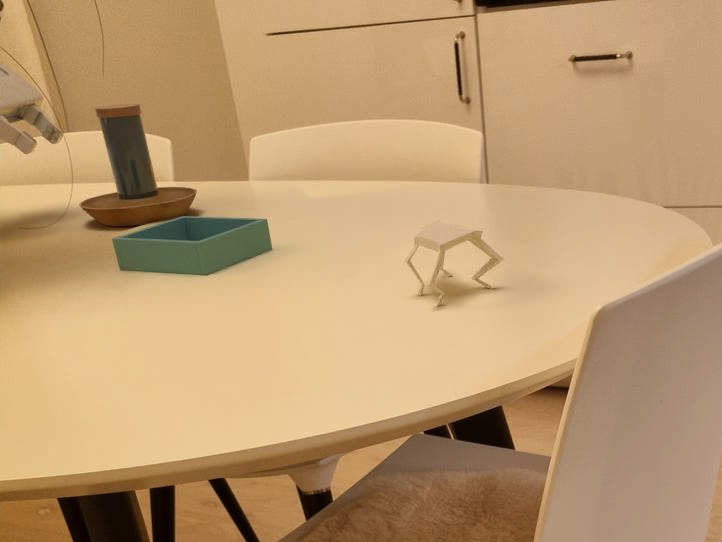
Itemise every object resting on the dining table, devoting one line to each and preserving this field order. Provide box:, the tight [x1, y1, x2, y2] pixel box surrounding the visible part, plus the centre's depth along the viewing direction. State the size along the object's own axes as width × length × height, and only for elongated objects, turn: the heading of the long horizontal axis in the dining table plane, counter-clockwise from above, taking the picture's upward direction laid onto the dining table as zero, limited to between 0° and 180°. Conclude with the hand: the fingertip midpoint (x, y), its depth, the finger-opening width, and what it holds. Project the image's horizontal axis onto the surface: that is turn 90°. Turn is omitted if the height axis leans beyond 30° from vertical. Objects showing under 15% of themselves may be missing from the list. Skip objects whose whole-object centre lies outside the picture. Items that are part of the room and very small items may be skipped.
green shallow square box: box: [111, 215, 273, 276], centre depth 98 cm, size 11×11×4 cm
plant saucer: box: [78, 186, 198, 227], centre depth 122 cm, size 15×15×3 cm
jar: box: [94, 103, 159, 200], centre depth 119 cm, size 5×5×10 cm
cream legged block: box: [404, 220, 505, 306], centre depth 84 cm, size 12×8×5 cm
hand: (46, 144), depth 118 cm, fingers open, 8 cm apart
